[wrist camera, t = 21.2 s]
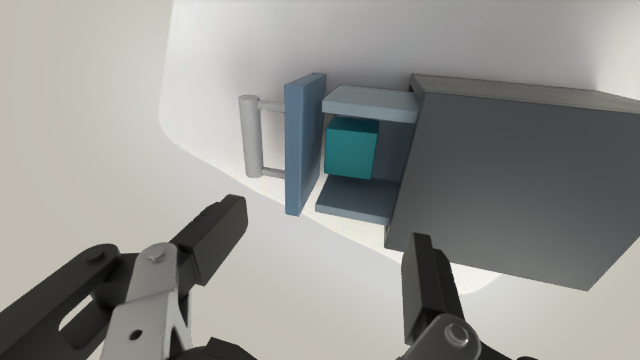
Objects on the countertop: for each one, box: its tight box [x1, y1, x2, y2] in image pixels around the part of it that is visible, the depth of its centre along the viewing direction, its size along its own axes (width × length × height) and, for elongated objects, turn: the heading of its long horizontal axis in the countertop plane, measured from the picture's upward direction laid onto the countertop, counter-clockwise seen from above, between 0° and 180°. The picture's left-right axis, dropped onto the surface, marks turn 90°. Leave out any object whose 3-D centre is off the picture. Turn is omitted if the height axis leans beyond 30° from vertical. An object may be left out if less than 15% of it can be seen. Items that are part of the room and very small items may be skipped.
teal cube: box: [324, 117, 379, 180], centre depth 21 cm, size 4×4×4 cm
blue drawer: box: [239, 73, 420, 226], centre depth 21 cm, size 17×10×7 cm, turn 86°
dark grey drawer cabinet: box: [384, 74, 640, 291], centre depth 19 cm, size 14×12×9 cm
